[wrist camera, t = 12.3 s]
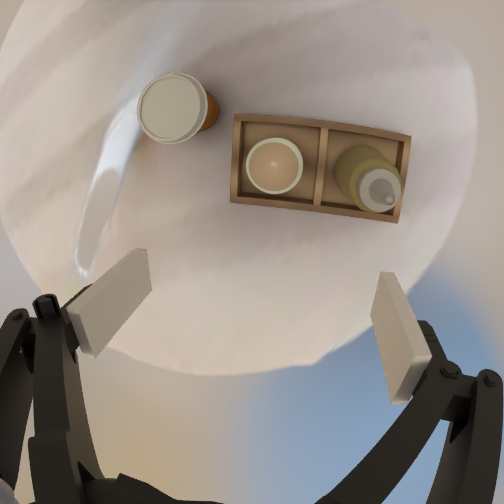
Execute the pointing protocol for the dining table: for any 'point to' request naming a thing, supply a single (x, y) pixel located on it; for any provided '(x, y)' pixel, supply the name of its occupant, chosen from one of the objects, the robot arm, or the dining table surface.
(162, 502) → the robot arm
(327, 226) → the dining table surface
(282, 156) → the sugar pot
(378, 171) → the squeeze bottle
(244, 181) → the caddy
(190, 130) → the disposable coffee cup
